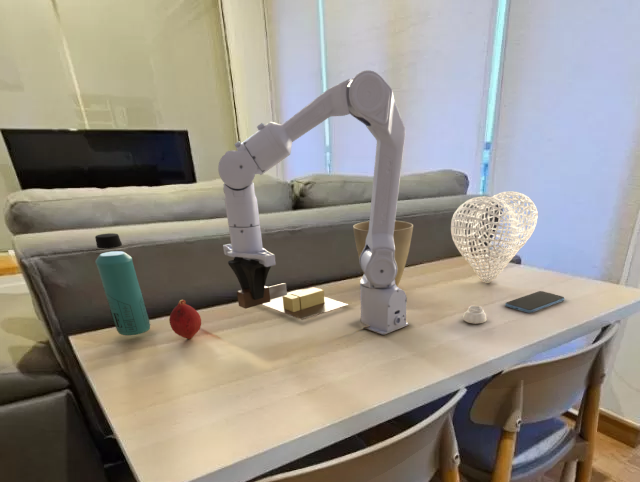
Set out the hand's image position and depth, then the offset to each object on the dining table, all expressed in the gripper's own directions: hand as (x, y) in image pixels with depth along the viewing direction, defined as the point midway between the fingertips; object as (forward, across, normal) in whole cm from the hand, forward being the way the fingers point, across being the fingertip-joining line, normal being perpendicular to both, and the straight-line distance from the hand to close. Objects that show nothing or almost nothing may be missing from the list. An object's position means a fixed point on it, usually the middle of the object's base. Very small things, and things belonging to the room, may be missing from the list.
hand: (254, 296), depth 92 cm
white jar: (+8, +29, +36) cm, 47 cm away
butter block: (+6, -4, +17) cm, 18 cm away
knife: (+1, 0, +3) cm, 3 cm away
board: (+7, -6, +16) cm, 19 cm away
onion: (+8, -7, -12) cm, 16 cm away
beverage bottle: (+8, -16, -19) cm, 26 cm away
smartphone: (+7, +34, +56) cm, 66 cm away
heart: (+8, +16, +64) cm, 66 cm away
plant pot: (+8, -2, +40) cm, 41 cm away
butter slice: (+6, -4, +12) cm, 14 cm away
